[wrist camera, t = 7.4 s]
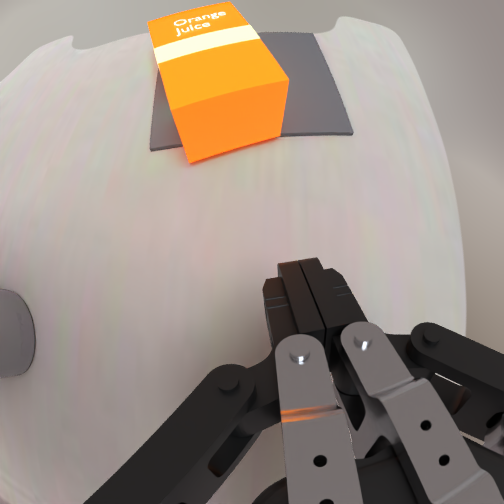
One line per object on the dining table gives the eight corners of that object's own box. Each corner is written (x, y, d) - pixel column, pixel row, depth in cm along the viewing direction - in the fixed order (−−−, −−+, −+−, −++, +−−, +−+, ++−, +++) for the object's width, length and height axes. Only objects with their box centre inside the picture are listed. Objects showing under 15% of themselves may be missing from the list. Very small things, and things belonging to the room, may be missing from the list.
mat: (151, 151, 26) (149, 148, 25) (163, 46, 30) (162, 43, 29) (352, 135, 27) (353, 132, 26) (312, 36, 31) (312, 33, 30)
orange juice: (290, 78, 18) (216, -15, 22) (169, 109, 17) (142, 4, 21) (280, 137, 26) (220, 31, 30) (188, 164, 25) (155, 49, 29)
